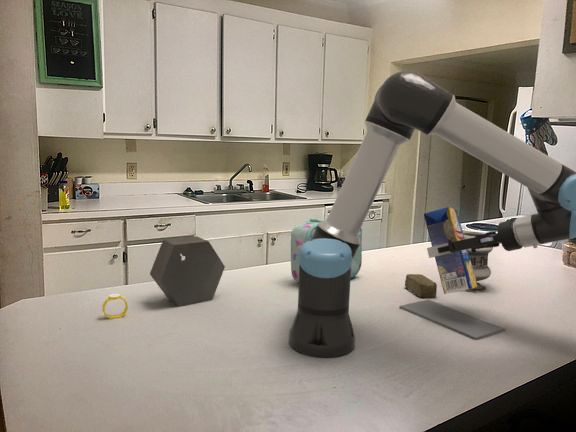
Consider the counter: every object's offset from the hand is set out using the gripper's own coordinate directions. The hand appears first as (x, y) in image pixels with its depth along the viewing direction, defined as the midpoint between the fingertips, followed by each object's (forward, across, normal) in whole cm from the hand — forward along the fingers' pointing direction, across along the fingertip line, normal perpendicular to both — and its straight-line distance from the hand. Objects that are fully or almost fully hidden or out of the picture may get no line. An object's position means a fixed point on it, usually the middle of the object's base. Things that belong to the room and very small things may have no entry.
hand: (438, 251), depth 134 cm
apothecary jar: (+7, +30, -12) cm, 34 cm away
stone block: (+15, +12, -11) cm, 22 cm away
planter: (+56, -45, 0) cm, 72 cm away
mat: (0, -2, -18) cm, 18 cm away
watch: (+58, -66, -2) cm, 88 cm away
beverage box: (-4, 0, -12) cm, 12 cm away
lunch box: (+41, 0, -1) cm, 41 cm away
